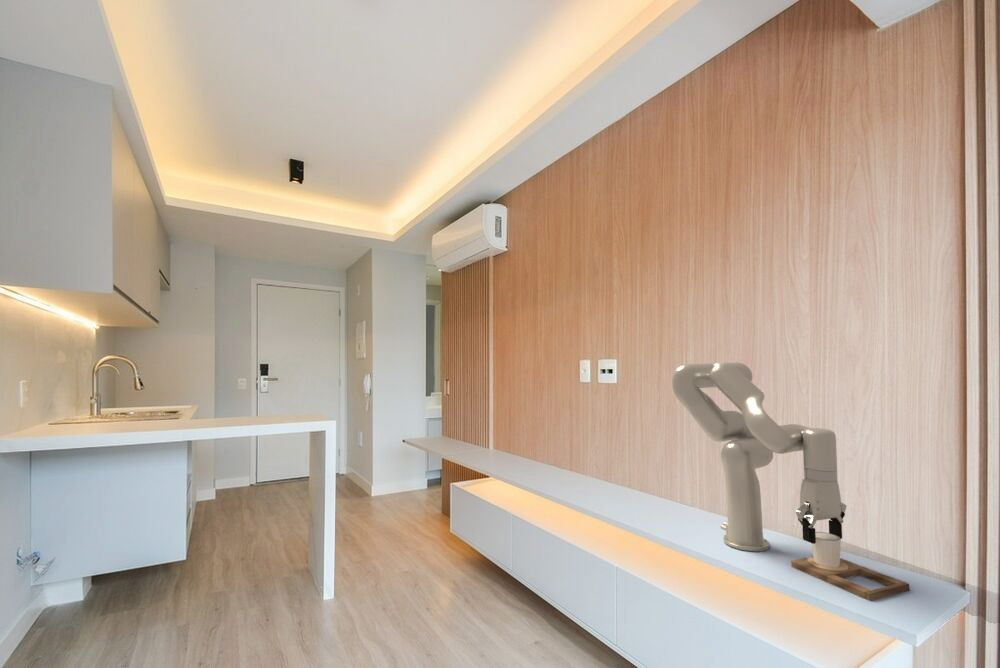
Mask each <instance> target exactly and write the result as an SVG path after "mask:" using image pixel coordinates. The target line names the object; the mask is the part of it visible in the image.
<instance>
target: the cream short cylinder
mask: <svg viewBox="0 0 1000 668" xmlns="http://www.w3.org/2000/svg"><path fill="white" fill-rule="evenodd" d="M815 535H816V543H815V544H813V543H811V544H810V545H811V550H812V557H814V561H815V562H816V563H817V564H820V565H823V566H827V567H838V566H839V565H840V558H841V543H842V542H841V538H840V537H838V536H836V535H833V534H830V533H829V532H824V531H823V532H822V531H815Z"/></svg>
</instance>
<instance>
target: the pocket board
mask: <svg viewBox="0 0 1000 668" xmlns="http://www.w3.org/2000/svg"><path fill="white" fill-rule="evenodd" d="M790 567H791V568H793V569H796V570H797V571H800V572H802V573H805V574H806V575H810V576H811V577H815V578H816V579H819V580H821V581H823V582H826V583H828V584H831V585H833V586H836V588H837V587H838V588H840V589H842V590H845V591H846V592H850V593H851V594H853V595H856V596H858V597H860V598H862V599H865V600H867V601H874V600H877V599H881V598H885V597H889V596H892V595H897V594H901V593H905V592H908V591H910V590H911V589H910V588H911V587H910V583H908V582H906V581H903V580H901V579H897V578H895V577H893V576H890V575H887V574H884V573H881V572H880V571H879V572H878V571H877V570H874V569H871V568H869V567H866V566H863V565H860V564H858V563H855V562H852V561H850V560H848V559H845V558H842V557H840V565H839V566H838V567H827V566H823V565H820V564H817V563H816V562H815V561H814V557H813V556H809V557H805V558H799V559H794V560H791V561H790ZM856 576H861V577H863V578H867V579H869V580H871V581H874V582H877V583H879V584H882V585H884V586H883V587H880V588H879V587H878V588H875V589H870V588H868V587H865V586H862V585H860V584H858V583H856V582H853V581H850V580H848V578H851V577H856Z"/></svg>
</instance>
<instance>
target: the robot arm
mask: <svg viewBox="0 0 1000 668" xmlns="http://www.w3.org/2000/svg"><path fill="white" fill-rule="evenodd" d="M752 381H753V373H752V371H751V369H750V367H748V366H747V365H746V364H744V363H742V362H721V363H719V362H718V363H717V362H716V363H713V362H711V363H710V362H709V363H705V362H704V363H687V364H682V365H680V366H679V367H677V368H676V369H675V370H674V372H673V375H672V381H671V383H672V389H673V390H672V391H673V393H674V395H675V396H676V398H677V399H678V400H679V402H680V404H682V406H684V408H685V409H686V410H687V411H688V412H689V413H690V414H691V416H692V417H693V419H694V420H695V421H696V423H697V424H698V425H699V427H700V428H701V429H702V431H703V432H704V433H705V434H706V436H707V437H708V438H709V439H711V440H712V441H713V442H726V443H725V444H724V446H722V448H721V451H720V459H721V460H720V461H721V463H722V464H721V465H722V467H723V472H724V481H725V492H726V493H725V494H726V495H725V496H726V510H727V511H726V512H727V513H726V514H727V521H724V522H723V524H721V525H720V529H721V530H724V531H725V535H723V539H722V540H723V543H725V545H727V546H729V547H731V548H734V549H738V550H742V551H747V552H748V551H750V552H762V551H767V550H768V549H770V547H771V546H770V542H769V540H767V539H766V538H764V531H763V530H764V527H763V514H762V513H763V512H762V499H761V498H762V496H761V495H762V494H761V486H760V481H759V478H758V476H757V473H756V469H760V468H763V467H766V466H768V465H770V464H771V462H772V461H773V459H774V453H775V454H779V455H782V454H783V455H784V454H788V453H792V452H793V453H794V452H802V453H803V454H802V456H803V457H802V458H803V459H802V460H803V479H802V481H801V485H800V490H799V491H800V494H799V507H798V508H797V509H796V510H795V513H796V516H797V520H798V521H799V523H800V525H801V526H802V539H803V540H804V541H806V542H808V543H809V544H810V543H813V544H815V543H816V535H815V532H816V528H815V527H814V526H815V525H816V523H817V521H824V520H828V519H829V520H828V533H830V534H833V535H836V536H838V537H840V538H841V539H843V526H842V525H843V523H844V517H846V510H847V504H845V503H843V502H842V499H841V492H840V491H841V490H840V485H839V481H838V457H837V455H838V453H837V452H838V451H837V436H836V433H835V432H834V431H832V430H831V429H826V428H818V427H808V426H804V425H801V424H796V423H791V424H782V425H779V424H778V423H777V422H776V421H775V420H773V418H771V417H770V416H769V415H768V413H767V412H766V410H765V409H764V407H763V402H764V400H765V393H764V392H763V391H762V390H761V389H760V388H759V387H758V386H757V385H755V383H753V382H752ZM706 388H708V389H709V388H717V389H718V390H719V391H720V392H721V393H722V394H723V395H724V397H726V398H727V399H728V400H729V401H730V402H731V403H733V405H735V407H737V409H738V410H739V411H740V412H739V411H735V410H722V409H721V408H720V407H719V406H718V405H717V404H716V402H715V401H714V400H713V398H711V397H710V396H709V395H708V394H706V393H705V392H704V391H703V390H701V389H706ZM809 519H810V521H809Z"/></svg>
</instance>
